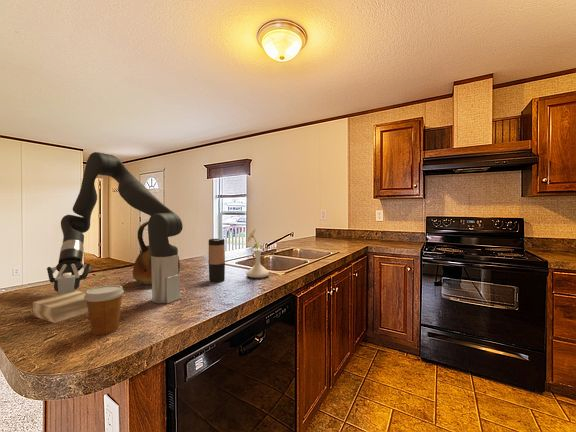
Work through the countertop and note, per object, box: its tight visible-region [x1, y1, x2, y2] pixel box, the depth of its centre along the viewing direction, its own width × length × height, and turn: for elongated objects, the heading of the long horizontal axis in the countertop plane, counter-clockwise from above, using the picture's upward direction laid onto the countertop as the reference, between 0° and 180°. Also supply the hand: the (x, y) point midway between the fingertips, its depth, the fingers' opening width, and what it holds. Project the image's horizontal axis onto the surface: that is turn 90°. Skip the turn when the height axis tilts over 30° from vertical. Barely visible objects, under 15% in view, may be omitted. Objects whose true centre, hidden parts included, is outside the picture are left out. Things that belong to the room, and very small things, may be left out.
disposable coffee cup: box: [84, 284, 125, 336], centre depth 79 cm, size 10×10×12 cm
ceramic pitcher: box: [132, 220, 181, 285], centre depth 129 cm, size 20×20×30 cm
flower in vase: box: [246, 228, 270, 279], centre depth 138 cm, size 13×11×25 cm
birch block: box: [32, 290, 88, 324], centre depth 92 cm, size 13×13×5 cm
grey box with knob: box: [57, 273, 78, 296], centre depth 105 cm, size 6×6×10 cm
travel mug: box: [208, 238, 226, 284], centre depth 132 cm, size 8×8×20 cm
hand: (66, 289), depth 103 cm, fingers closed on grey box with knob, 4 cm apart
